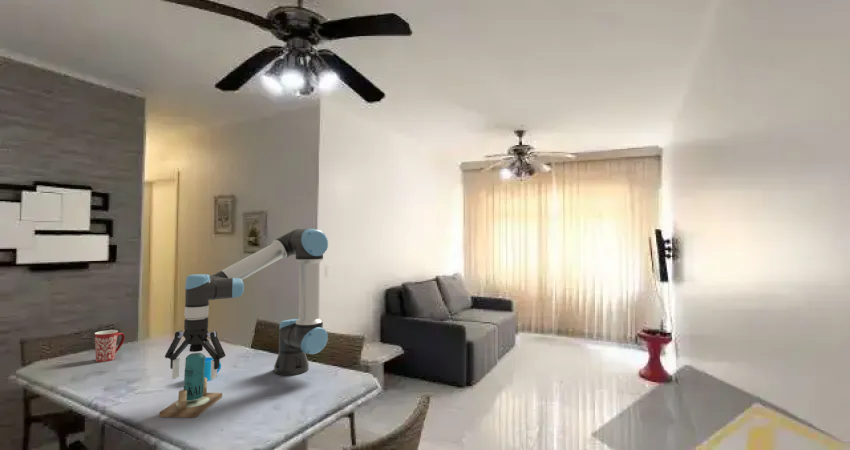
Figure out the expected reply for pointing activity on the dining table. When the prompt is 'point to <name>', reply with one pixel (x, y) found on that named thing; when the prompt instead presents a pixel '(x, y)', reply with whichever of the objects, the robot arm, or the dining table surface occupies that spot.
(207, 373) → the mug
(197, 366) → the beverage bottle
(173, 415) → the wooden board with pegs
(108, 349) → the mug
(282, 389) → the dining table surface
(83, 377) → the dining table surface
